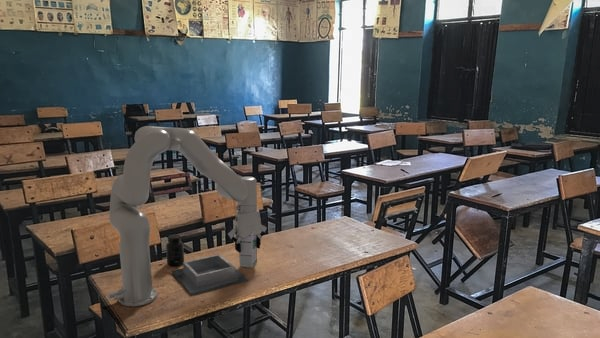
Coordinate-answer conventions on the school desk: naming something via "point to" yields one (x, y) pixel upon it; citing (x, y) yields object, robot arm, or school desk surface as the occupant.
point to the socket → (208, 274)
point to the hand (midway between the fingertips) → (248, 249)
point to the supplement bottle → (174, 251)
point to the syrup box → (248, 251)
